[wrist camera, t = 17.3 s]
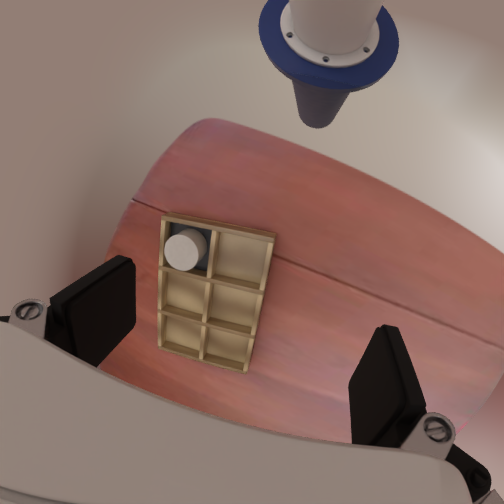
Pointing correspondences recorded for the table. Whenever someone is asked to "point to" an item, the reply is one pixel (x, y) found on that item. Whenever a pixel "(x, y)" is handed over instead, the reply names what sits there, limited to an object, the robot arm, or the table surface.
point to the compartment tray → (214, 293)
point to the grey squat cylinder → (185, 249)
